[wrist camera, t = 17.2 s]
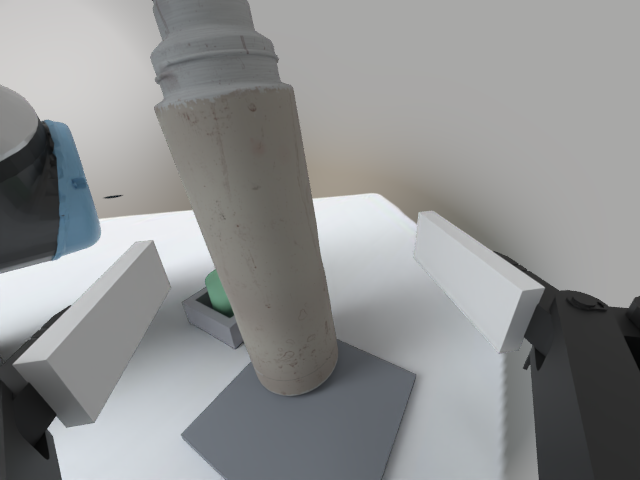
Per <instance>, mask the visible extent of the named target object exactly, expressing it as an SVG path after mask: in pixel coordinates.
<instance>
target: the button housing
mask: <svg viewBox="0 0 640 480" xmlns="http://www.w3.org/2000/svg"><path fill="white" fill-rule="evenodd" d="M182 304H183V307H184V310H185V313H186V315H187V318H188V321H189V322H190V323H192V324H193V325H195V326H197V327H198V328H200V329H202V330H204V331H205V332H207V333H209V334H210V335H212V336H214V337H215V338H217V339H219V340H220V341H222V342H224V343H225V344H227V345H229V346H230V347H232V348H234V349H236V348H237V347H238V346H239V345H240V344H241V343H242V342H243V338H242V335H241V333H240V330H239V327H238V324H237V321H236V318H235V315H234V316H233V317H231V318H228V317H226V316H224V315H223V314H221V313H219V312H217V311H215V310H213V307H212V304H211V300H210V297H209V294H208V291H207V287H205V288H203V289H202V290H200V291H199V292H197V293H196V294H194V295H192V296H191V297H189V298H188V299H186V300H185V301H183V302H182Z"/></svg>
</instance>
